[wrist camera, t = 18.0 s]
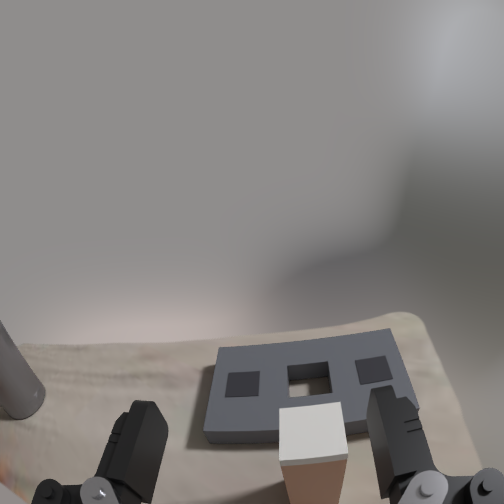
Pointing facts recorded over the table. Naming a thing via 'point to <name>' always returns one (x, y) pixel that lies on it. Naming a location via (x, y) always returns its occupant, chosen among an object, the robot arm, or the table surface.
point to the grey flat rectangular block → (293, 368)
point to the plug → (313, 452)
